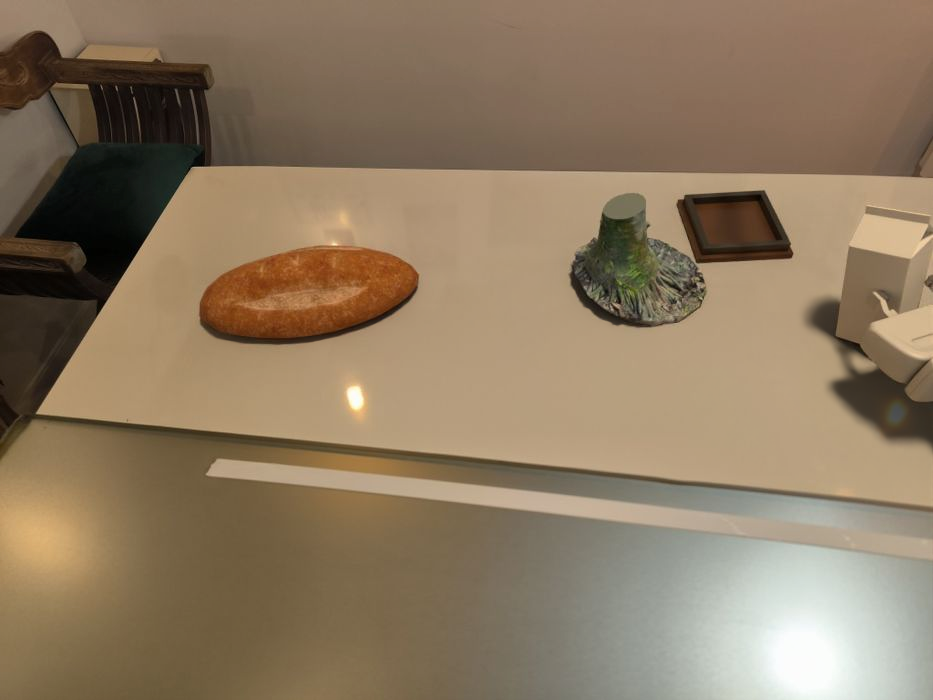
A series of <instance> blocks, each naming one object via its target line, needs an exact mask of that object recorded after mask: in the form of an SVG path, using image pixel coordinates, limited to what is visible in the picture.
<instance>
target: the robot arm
mask: <svg viewBox="0 0 933 700" xmlns="http://www.w3.org/2000/svg"><path fill="white" fill-rule="evenodd" d="M924 286H926V288H928V289H929V291H931V292H932V293H933V274H930V275H928V276H927V278H926V279H925V283H924ZM889 299H890V297H889V296H888V295H887V294H885V293H884V291H883V290H879V291H876V292H872V293H870V294H869V295H868V297H867V298H866V302H867V303H868V304H869V305H870V306H871V307H872V308H873V309H874V315H875V322H872V323H871V324H870V325H869V326H868V327H867V328H866V330H865V331H864V333H863V334H862V336H861V337H860V344H859V345H860V348H861V349H862V351H863V352H864V354H865V355H866V356H867V357H868V358H869V359H870V360H871V361H872V362H873V363H874V364H875V365H876V367H878V368H879V369H880V370H881V371H882V372H883V373H884V374H885V375H886V376H887V377H889V378H891V379H892V380H893V381H895V382H897V383H900V384H906V386H905V388H904V392H905V394H906V396H907V397H909V398H910V399H911V400H912V401H915V402H920V403H921V402H922V403H923V402H925V403H926V402H933V303H931V304H928V305H925V306H921V307H919V308H918V309H914V310H911V311H908V312H905V313H901V314H898V313H897V312H896V311H895V310H893V309H892V310H890V311H889V309H888V306H887V302H888V301H889Z"/></svg>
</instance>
